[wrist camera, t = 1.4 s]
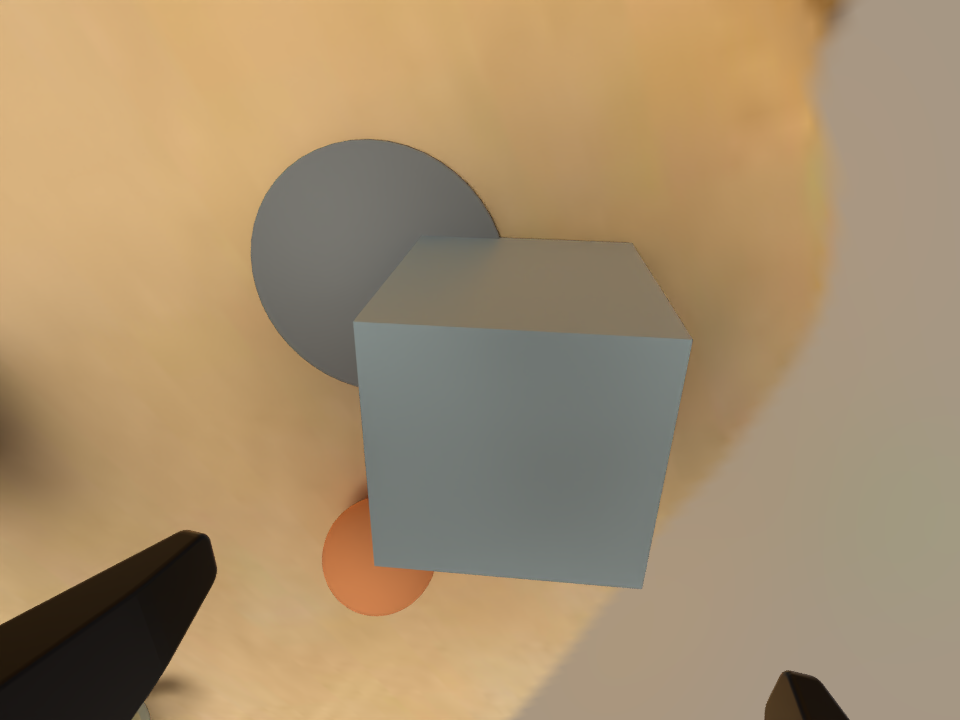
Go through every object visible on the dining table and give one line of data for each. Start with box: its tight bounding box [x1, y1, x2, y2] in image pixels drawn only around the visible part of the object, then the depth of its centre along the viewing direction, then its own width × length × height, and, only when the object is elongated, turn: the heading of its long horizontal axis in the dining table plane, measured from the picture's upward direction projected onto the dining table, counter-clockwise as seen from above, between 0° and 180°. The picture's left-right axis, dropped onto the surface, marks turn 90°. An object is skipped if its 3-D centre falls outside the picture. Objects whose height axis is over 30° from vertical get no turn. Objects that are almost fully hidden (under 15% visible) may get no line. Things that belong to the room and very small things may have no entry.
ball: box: [322, 499, 434, 616], centre depth 25 cm, size 5×5×5 cm
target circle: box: [251, 139, 500, 387], centre depth 22 cm, size 10×10×1 cm
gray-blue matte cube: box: [353, 236, 693, 589], centre depth 18 cm, size 8×8×9 cm
